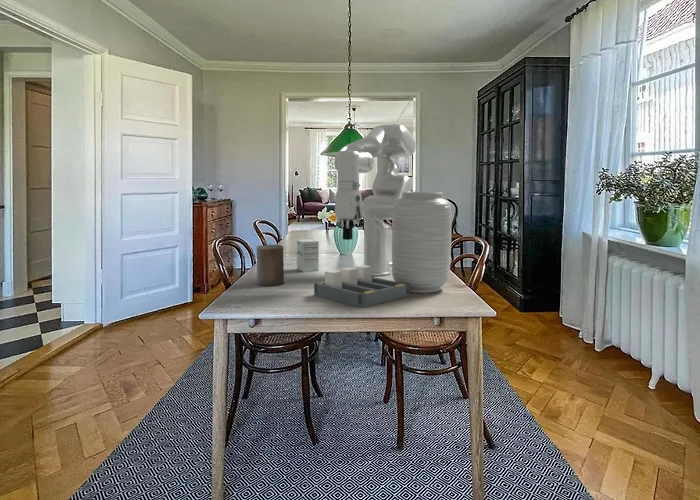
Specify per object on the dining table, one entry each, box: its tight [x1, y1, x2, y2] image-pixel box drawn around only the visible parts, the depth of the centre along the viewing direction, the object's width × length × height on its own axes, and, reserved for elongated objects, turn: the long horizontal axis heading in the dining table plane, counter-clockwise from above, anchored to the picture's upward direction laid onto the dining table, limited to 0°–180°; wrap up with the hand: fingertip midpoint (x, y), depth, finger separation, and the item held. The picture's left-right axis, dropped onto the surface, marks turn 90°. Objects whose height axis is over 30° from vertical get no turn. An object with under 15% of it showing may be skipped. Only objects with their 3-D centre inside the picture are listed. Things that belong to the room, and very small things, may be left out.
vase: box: [391, 191, 453, 294], centre depth 168 cm, size 20×20×34 cm
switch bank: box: [313, 276, 410, 309], centre depth 159 cm, size 22×22×4 cm
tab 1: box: [324, 269, 342, 288], centre depth 158 cm, size 4×4×7 cm
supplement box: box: [296, 238, 320, 273], centre depth 203 cm, size 7×7×13 cm
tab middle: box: [340, 267, 358, 285], centre depth 163 cm, size 4×4×7 cm
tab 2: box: [355, 264, 373, 282], centre depth 167 cm, size 4×4×7 cm
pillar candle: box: [255, 242, 285, 287], centre depth 176 cm, size 10×10×15 cm
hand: (347, 239), depth 171 cm, fingers closed
